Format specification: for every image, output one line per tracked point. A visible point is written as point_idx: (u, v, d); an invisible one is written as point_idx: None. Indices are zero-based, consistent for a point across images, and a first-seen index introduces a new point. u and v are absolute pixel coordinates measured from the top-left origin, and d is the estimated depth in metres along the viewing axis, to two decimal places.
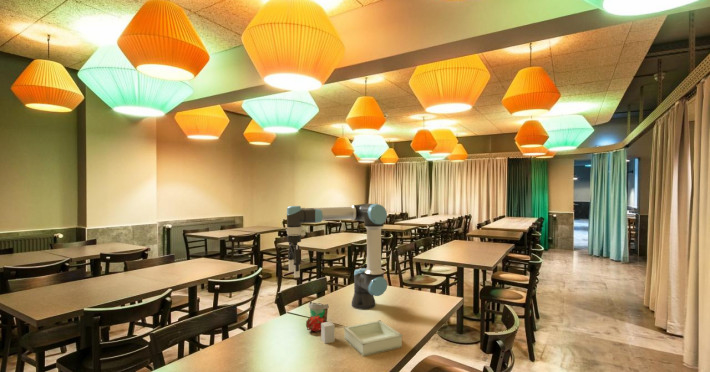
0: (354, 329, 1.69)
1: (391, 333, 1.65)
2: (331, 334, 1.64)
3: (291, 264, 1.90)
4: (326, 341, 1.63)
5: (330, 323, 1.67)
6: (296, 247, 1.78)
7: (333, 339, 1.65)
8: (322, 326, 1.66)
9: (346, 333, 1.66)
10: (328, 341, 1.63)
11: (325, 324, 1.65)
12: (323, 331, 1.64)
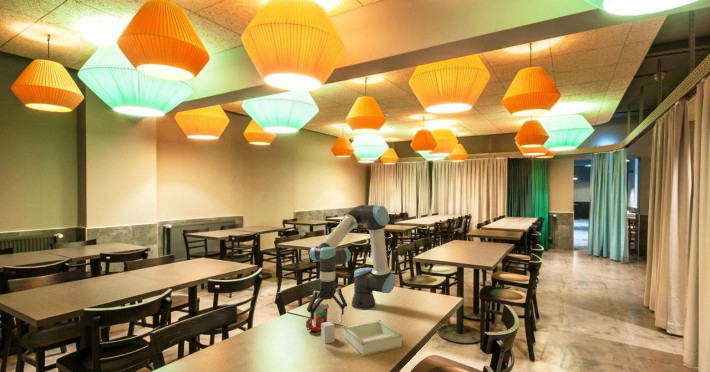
0: (354, 329, 1.69)
1: (391, 333, 1.65)
2: (331, 334, 1.64)
3: (339, 313, 1.69)
4: (326, 341, 1.63)
5: (330, 323, 1.67)
6: (313, 293, 1.64)
7: (333, 339, 1.65)
8: (322, 326, 1.66)
9: (346, 333, 1.66)
10: (328, 341, 1.63)
11: (324, 324, 1.65)
12: (323, 331, 1.64)
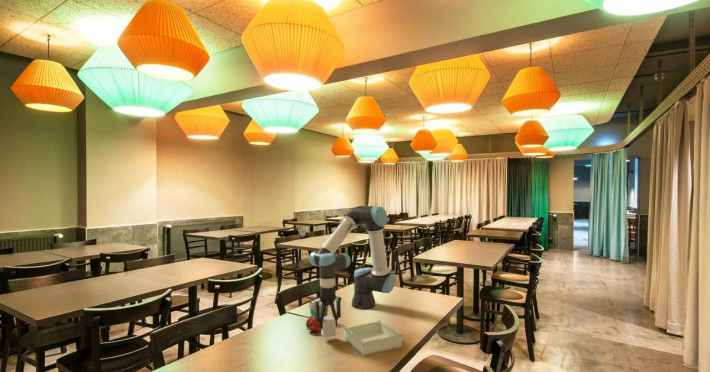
0: (354, 329, 1.69)
1: (391, 333, 1.65)
2: (331, 328, 1.65)
3: None
4: (327, 335, 1.64)
5: (330, 317, 1.67)
6: (315, 303, 1.64)
7: (334, 333, 1.65)
8: None
9: (346, 333, 1.66)
10: (328, 335, 1.64)
11: (325, 319, 1.65)
12: None
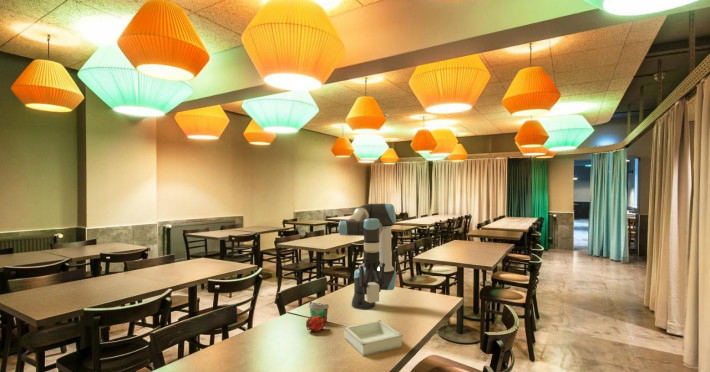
0: (354, 329, 1.69)
1: (391, 333, 1.65)
2: (375, 293, 1.62)
3: None
4: (371, 300, 1.60)
5: (374, 283, 1.64)
6: (359, 268, 1.61)
7: (378, 299, 1.62)
8: None
9: (346, 333, 1.66)
10: (372, 301, 1.61)
11: (369, 284, 1.62)
12: None
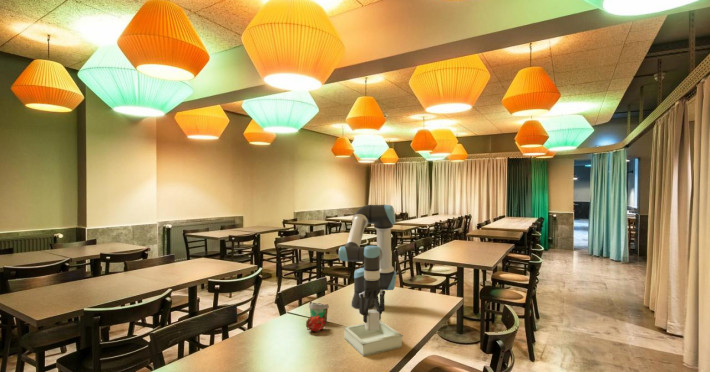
0: (354, 329, 1.69)
1: (391, 333, 1.65)
2: (376, 322, 1.61)
3: None
4: (371, 329, 1.60)
5: (374, 311, 1.64)
6: (359, 296, 1.61)
7: (378, 327, 1.62)
8: None
9: (346, 333, 1.66)
10: (373, 329, 1.60)
11: (369, 312, 1.62)
12: None
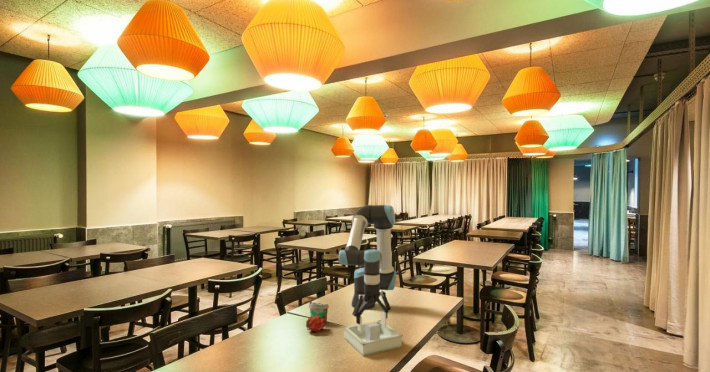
0: (354, 329, 1.69)
1: (391, 333, 1.65)
2: (376, 334, 1.61)
3: (383, 317, 1.66)
4: None
5: (374, 323, 1.64)
6: (358, 297, 1.61)
7: None
8: (367, 326, 1.63)
9: (346, 333, 1.66)
10: None
11: (369, 325, 1.62)
12: (368, 331, 1.61)
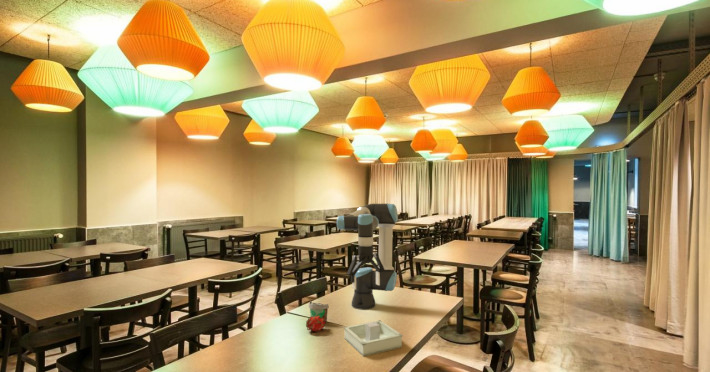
0: (354, 329, 1.69)
1: (391, 333, 1.65)
2: (376, 334, 1.61)
3: (377, 276, 1.76)
4: None
5: (374, 323, 1.64)
6: (353, 257, 1.70)
7: None
8: (367, 326, 1.63)
9: (346, 333, 1.66)
10: None
11: (369, 325, 1.62)
12: (368, 331, 1.61)
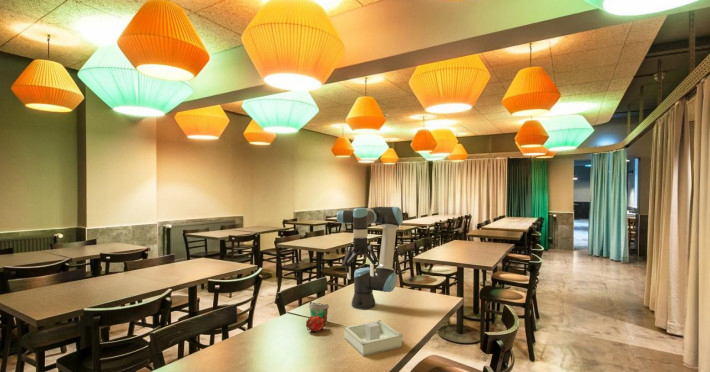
0: (354, 329, 1.69)
1: (391, 333, 1.65)
2: (376, 334, 1.61)
3: (371, 268, 1.84)
4: None
5: (374, 323, 1.64)
6: (348, 249, 1.79)
7: None
8: (367, 326, 1.63)
9: (346, 333, 1.66)
10: None
11: (369, 325, 1.62)
12: (368, 331, 1.61)
